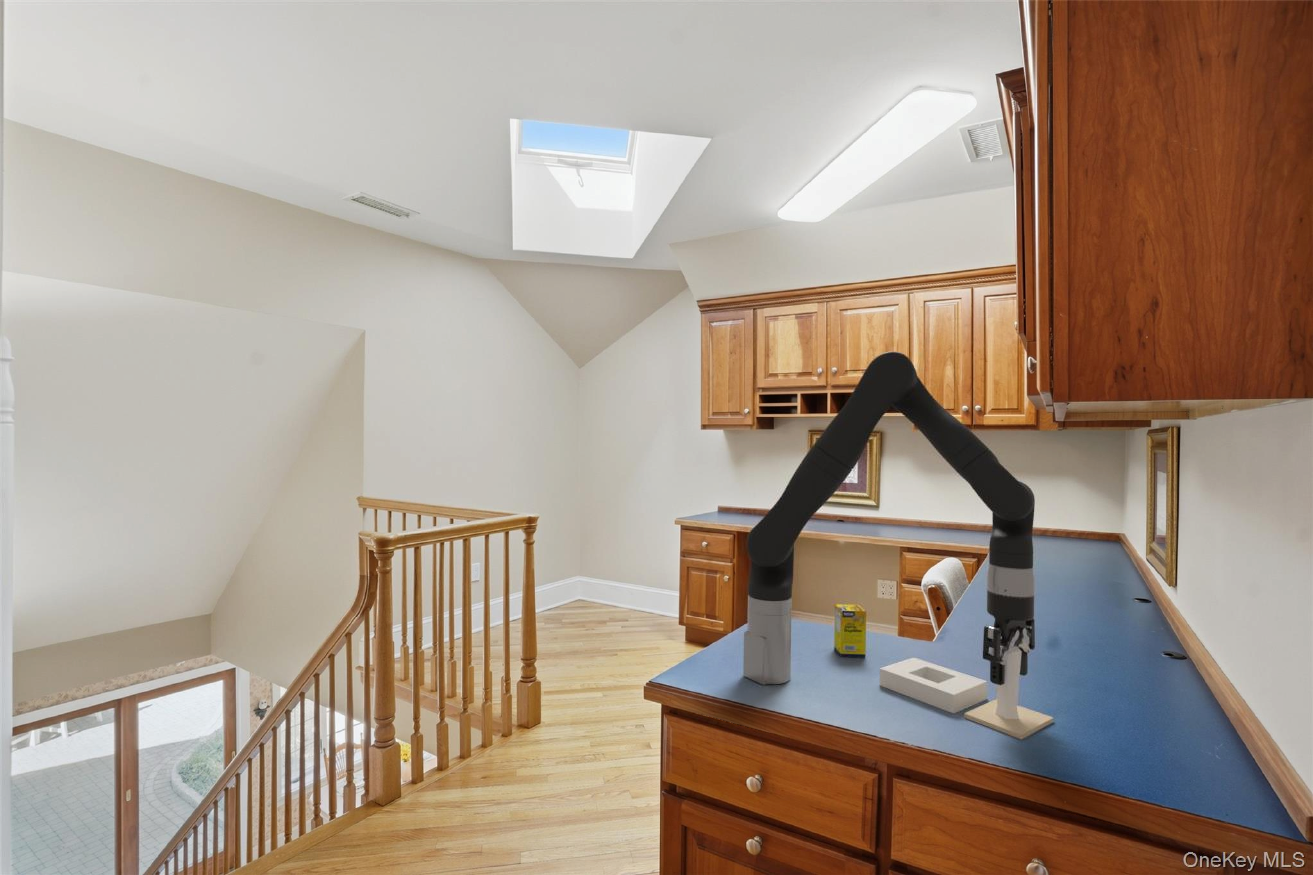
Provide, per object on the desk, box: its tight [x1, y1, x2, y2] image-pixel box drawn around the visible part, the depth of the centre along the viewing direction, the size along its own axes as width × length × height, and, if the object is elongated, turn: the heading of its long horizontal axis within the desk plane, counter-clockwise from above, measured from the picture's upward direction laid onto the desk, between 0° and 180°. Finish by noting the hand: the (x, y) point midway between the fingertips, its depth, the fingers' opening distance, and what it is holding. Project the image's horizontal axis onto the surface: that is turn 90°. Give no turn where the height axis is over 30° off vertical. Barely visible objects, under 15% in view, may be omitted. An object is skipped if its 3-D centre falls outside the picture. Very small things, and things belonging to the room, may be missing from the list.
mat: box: [963, 698, 1054, 740], centre depth 115 cm, size 12×10×1 cm
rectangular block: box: [879, 657, 988, 714], centre depth 127 cm, size 12×16×4 cm
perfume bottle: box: [995, 646, 1021, 719], centre depth 114 cm, size 5×4×15 cm
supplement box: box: [833, 603, 867, 658], centre depth 149 cm, size 6×6×11 cm
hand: (1009, 678), depth 115 cm, fingers open, 8 cm apart
